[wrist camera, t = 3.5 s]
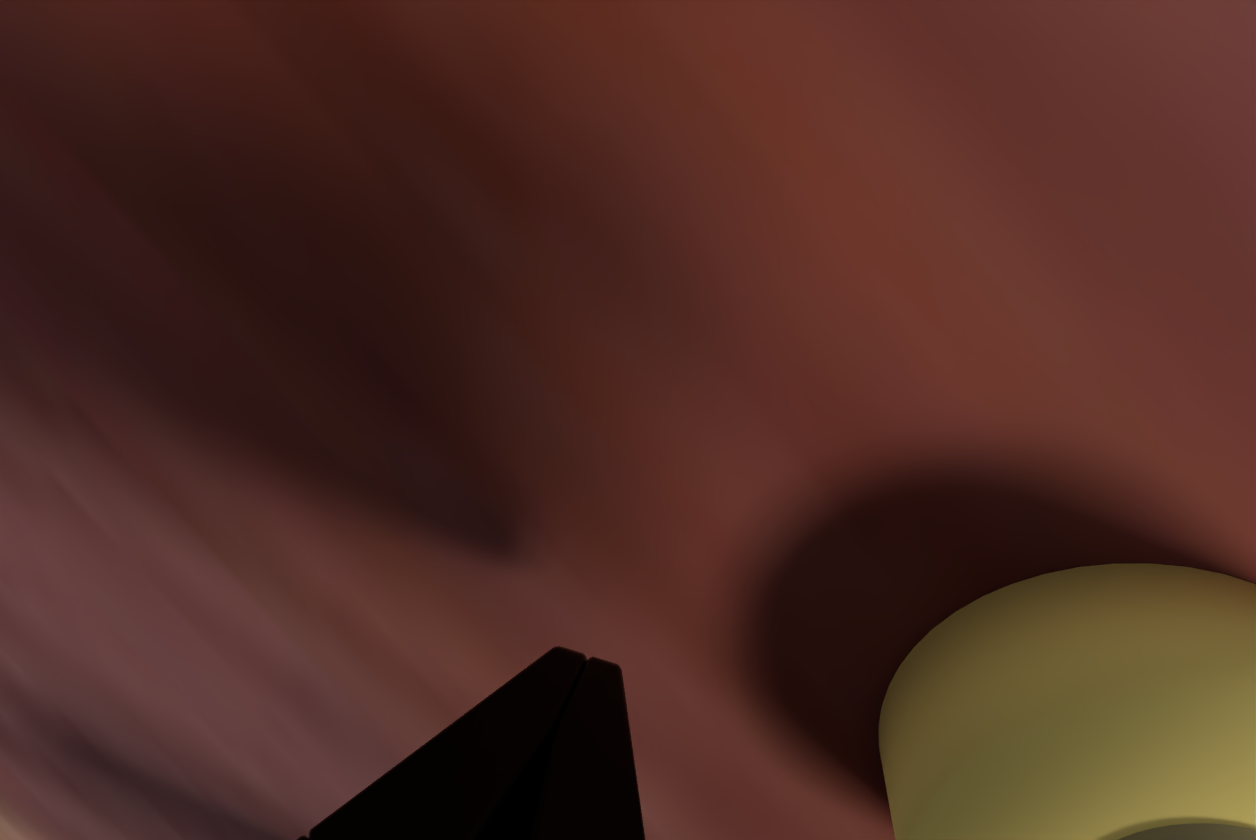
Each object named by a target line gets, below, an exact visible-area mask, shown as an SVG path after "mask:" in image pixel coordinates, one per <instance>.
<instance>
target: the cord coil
mask: <svg viewBox="0 0 1256 840" xmlns="http://www.w3.org/2000/svg"><path fill="white" fill-rule="evenodd" d="M878 730H879V751H880V756H881V762H882V768H883V773H884V779H885V784H886V790H887V796H888V801H889V807H890V813H891V818H892V824H893V829H894V835H895V840H1256V584H1254V583H1251V582H1248V581H1244V580H1241V579H1238V578H1235V577H1232V576H1229V575H1225V574H1221V573H1216V572H1211V571H1206V570H1201V569H1196V568H1191V567H1183V566H1173V565H1162V564H1152V563H1127V564H1105V565H1095V566H1085V567H1076V568H1072V569H1067V570H1062V571H1057V572H1052V573H1047V574H1042V575H1039V576H1036V577H1033V578H1029V579H1026V580H1023V581H1020V582H1016V583H1013V584H1010V585H1008V586H1006V587H1003V588H1001V589H999V590H996V591H994V592H992V593H989V594H987V595H985V596H982V597H980V598H979V599H977V600H975V601H973V602H972V603H970V604H968V605H966V606H965V607H963V608H961V609H959V610H958V611H956V612H955V613H953V614H952V615H950V616H949V617H948V618H946V619H945V620H944V621H942V622H941V623H940V624H938V625H937V626H936V627H934V628H933V629H932V630H931V631H930V632H929V633H928V634H927V635H926V636H925V637H924V638H923V639H922V640H921V641H920V642H919V643H918V644H917V645H915V647H914V648H913V649H912V650H911V652H910V653H909V654H908V656H907V657H906V658H905V659H904V661H903V662H902V663H901V665H900V666H899V668H898V670H897V672H896V673H895V675H894V677H893V679H892V681H891V682H890V684H889V686H888V689H887V692H886V695H885V698H884V701H883V704H882V707H881V714H880V720H879V726H878Z"/></svg>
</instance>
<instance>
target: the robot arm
mask: <svg viewBox="0 0 1256 840" xmlns="http://www.w3.org/2000/svg"><path fill="white" fill-rule="evenodd" d="M297 840H645V834H644V827H643V820H642V813H641V805H640V798H639V791H638V784H637V777H636V770H635V762H634V755H633V748H632V741H631V734H630V726H629V719H628V712H627V705H626V698H625V691H624V683H623V676H622V670H621V668H620V666H619V665H617V664H615V663H612V662H608V661H605V660H602V659H599V658H596V657H591V658H589V659H588V660H587V658H586V656H585V655H584V654H583V653H580V652H576V651H573V650H570V649H567V648H564V647H560V646H557V647H554V648H552V649H551V650H549V651H548V652H547V653H545V654H544V655H543V656H541V657H540V658H539V659H537V660H536V661H535V662H533V663H532V664H531V665H529V666H528V667H527V668H525V669H524V670H523V671H521V672H520V673H519V674H517V675H516V676H515V677H513V678H512V679H511V680H509V681H508V682H507V683H505V684H504V685H503V686H501V687H500V688H499V689H497V690H496V691H495V692H493V693H492V694H491V695H489V696H488V697H487V698H485V699H484V700H483V701H481V702H480V703H479V704H477V705H476V706H475V707H473V708H472V709H471V710H469V711H468V712H467V713H465V714H464V715H463V716H461V717H460V718H459V719H457V720H456V721H455V722H453V723H452V724H451V725H449V726H448V727H447V728H445V729H444V730H443V731H441V732H440V733H439V734H437V735H436V736H435V737H433V738H432V739H431V740H429V741H428V742H427V743H425V744H424V745H423V746H421V747H420V748H419V749H417V750H416V751H415V752H413V753H412V754H411V755H409V756H408V757H407V758H405V759H404V760H403V761H401V762H400V763H399V764H397V765H396V766H395V767H393V768H392V769H391V770H389V771H388V772H387V773H385V774H384V775H383V776H381V777H380V778H379V779H377V780H376V781H375V782H373V783H372V784H371V785H369V786H368V787H367V788H365V789H364V790H363V791H361V792H360V793H359V794H357V795H356V796H355V797H353V798H352V799H351V800H349V801H348V802H347V803H345V804H344V805H343V806H341V807H340V808H339V809H337V810H336V811H335V812H333V813H332V814H331V815H329V816H328V817H327V818H325V819H324V820H323V821H321V822H320V823H319V824H317V825H316V826H315V827H313V828H312V829H311V830H310V832H309V836H308V838H307V837H306V836H301V837H299V838H298V839H297Z"/></svg>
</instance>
